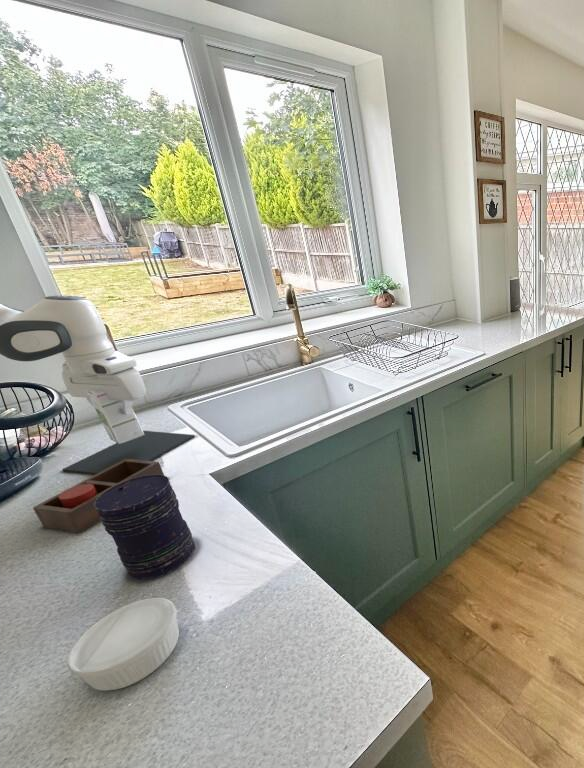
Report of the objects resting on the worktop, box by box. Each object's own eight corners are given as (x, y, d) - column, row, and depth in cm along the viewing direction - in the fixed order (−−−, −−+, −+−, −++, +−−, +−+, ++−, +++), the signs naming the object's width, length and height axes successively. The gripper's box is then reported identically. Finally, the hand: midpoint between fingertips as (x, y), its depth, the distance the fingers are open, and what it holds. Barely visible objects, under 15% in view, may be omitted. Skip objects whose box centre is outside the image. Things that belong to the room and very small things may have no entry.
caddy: (43, 527, 84) (32, 507, 82) (133, 476, 100) (125, 458, 98) (80, 532, 82) (69, 512, 80) (166, 479, 98) (158, 461, 97)
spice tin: (64, 521, 85) (51, 497, 83) (92, 505, 90) (80, 482, 88) (84, 524, 84) (71, 500, 82) (111, 507, 89) (100, 484, 87)
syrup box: (145, 434, 110) (123, 384, 104) (117, 445, 105) (92, 393, 99) (136, 430, 112) (114, 380, 107) (109, 440, 108) (84, 389, 102)
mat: (63, 471, 103) (62, 469, 103) (142, 432, 121) (142, 430, 121) (121, 477, 100) (120, 475, 99) (194, 436, 118) (194, 435, 118)
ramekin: (83, 657, 58) (67, 632, 56) (180, 608, 66) (168, 583, 64) (84, 721, 51) (65, 693, 49) (193, 657, 58) (180, 631, 56)
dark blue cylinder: (209, 544, 78) (183, 478, 73) (155, 586, 70) (121, 515, 64) (170, 535, 81) (142, 470, 75) (113, 574, 72) (77, 505, 66)
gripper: (45, 364, 100) (69, 415, 105) (113, 368, 96) (135, 421, 101) (74, 356, 105) (97, 405, 110) (140, 359, 102) (160, 409, 107)
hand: (116, 412), depth 106 cm, fingers closed on syrup box, 6 cm apart
